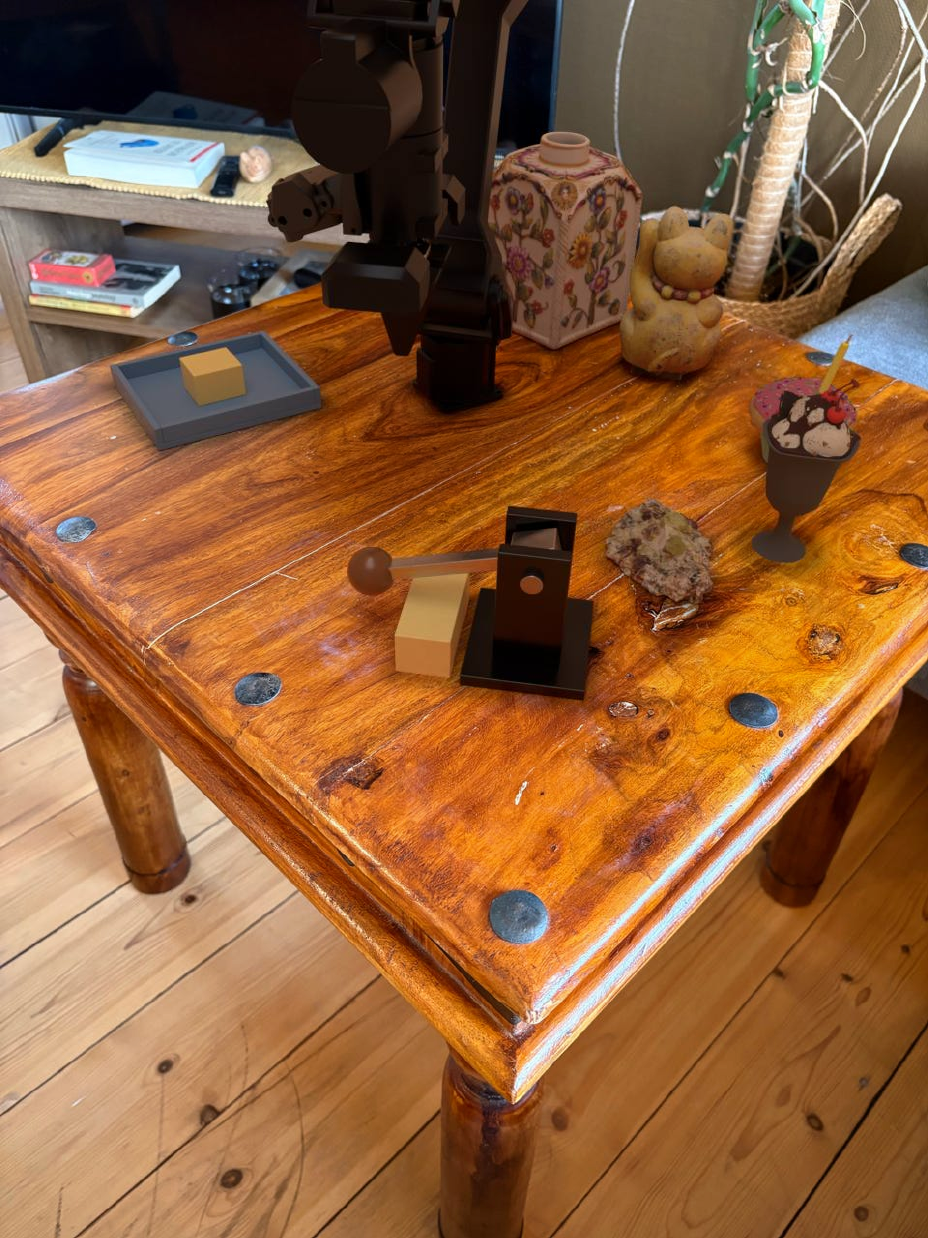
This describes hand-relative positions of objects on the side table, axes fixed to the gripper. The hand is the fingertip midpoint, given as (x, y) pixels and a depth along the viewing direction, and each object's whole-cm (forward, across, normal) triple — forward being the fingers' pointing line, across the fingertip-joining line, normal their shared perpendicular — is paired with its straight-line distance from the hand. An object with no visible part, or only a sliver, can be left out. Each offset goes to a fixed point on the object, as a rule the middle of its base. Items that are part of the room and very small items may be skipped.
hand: (402, 353), depth 73 cm
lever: (+7, +17, +7) cm, 20 cm away
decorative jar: (+12, -35, +9) cm, 38 cm away
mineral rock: (+12, +6, +21) cm, 25 cm away
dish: (+12, -12, -20) cm, 26 cm away
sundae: (+12, +3, +30) cm, 32 cm away
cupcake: (+12, -11, +32) cm, 35 cm away
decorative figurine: (+12, -25, +21) cm, 35 cm away
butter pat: (+11, -12, -20) cm, 26 cm away
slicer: (+12, +17, +12) cm, 24 cm away
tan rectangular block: (+12, +17, +6) cm, 22 cm away
